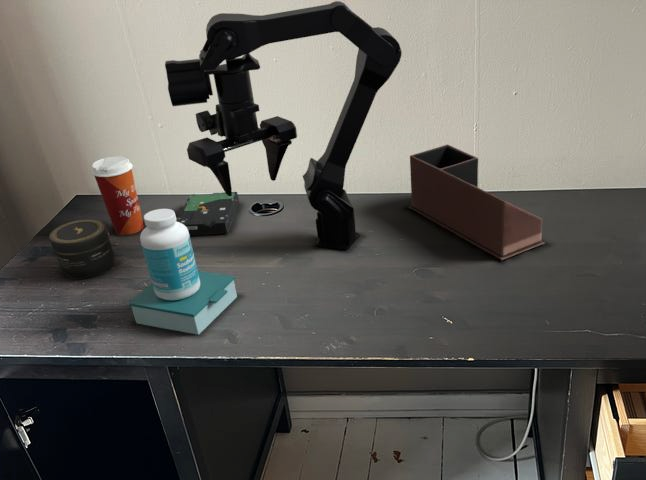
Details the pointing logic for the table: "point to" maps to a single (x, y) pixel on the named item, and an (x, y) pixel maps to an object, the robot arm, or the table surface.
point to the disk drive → (209, 213)
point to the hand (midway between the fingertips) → (251, 187)
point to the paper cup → (119, 193)
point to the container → (186, 305)
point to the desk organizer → (469, 204)
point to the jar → (82, 248)
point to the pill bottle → (169, 256)
